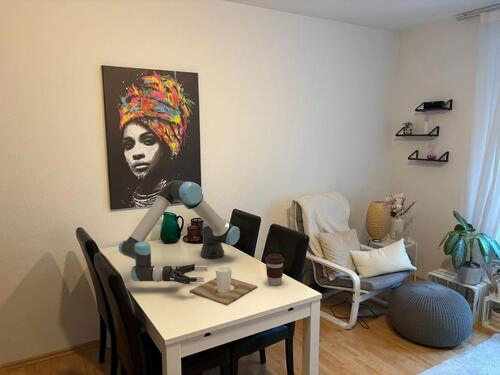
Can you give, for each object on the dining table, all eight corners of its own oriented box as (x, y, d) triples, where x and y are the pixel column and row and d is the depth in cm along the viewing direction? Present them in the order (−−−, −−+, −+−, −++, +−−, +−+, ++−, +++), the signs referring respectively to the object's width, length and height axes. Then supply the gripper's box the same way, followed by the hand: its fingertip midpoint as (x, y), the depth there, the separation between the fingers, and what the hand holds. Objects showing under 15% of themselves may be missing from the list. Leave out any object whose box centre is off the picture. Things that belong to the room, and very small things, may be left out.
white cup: (219, 292, 181) (219, 272, 180) (213, 286, 188) (213, 267, 187) (234, 289, 185) (234, 270, 183) (227, 283, 192) (227, 265, 190)
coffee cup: (286, 280, 198) (286, 253, 196) (281, 288, 189) (281, 259, 186) (268, 278, 201) (268, 251, 199) (262, 285, 192) (262, 257, 190)
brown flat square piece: (221, 277, 203) (221, 271, 203) (257, 287, 189) (257, 282, 189) (189, 292, 184) (189, 286, 184) (227, 305, 170) (227, 299, 170)
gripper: (169, 271, 199) (209, 271, 198) (157, 291, 174) (202, 291, 174) (168, 258, 198) (208, 258, 197) (156, 276, 173) (201, 276, 173)
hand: (205, 273), depth 186 cm, fingers open, 13 cm apart
